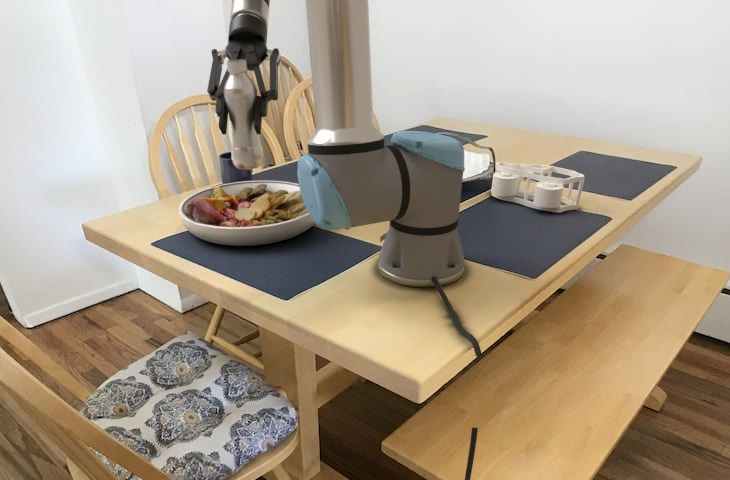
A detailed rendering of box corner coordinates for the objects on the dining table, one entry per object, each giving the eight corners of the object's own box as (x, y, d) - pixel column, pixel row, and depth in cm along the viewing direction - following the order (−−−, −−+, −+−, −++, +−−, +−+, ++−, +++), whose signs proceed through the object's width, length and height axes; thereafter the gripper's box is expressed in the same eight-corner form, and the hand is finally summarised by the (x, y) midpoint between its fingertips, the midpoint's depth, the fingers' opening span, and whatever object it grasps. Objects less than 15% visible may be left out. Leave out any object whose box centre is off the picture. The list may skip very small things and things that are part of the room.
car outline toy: (479, 197, 130) (483, 166, 126) (506, 187, 136) (510, 157, 132) (557, 219, 117) (564, 185, 113) (582, 206, 124) (590, 174, 120)
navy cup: (250, 196, 134) (246, 159, 130) (220, 196, 135) (215, 159, 130) (255, 186, 141) (252, 151, 136) (227, 187, 141) (222, 151, 136)
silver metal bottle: (227, 172, 111) (212, 62, 100) (241, 163, 116) (228, 58, 105) (256, 174, 109) (244, 62, 98) (270, 164, 114) (259, 58, 104)
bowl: (258, 192, 137) (255, 160, 132) (350, 219, 120) (350, 183, 116) (154, 228, 118) (146, 192, 113) (246, 266, 101) (241, 225, 97)
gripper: (298, 39, 113) (292, 141, 108) (208, 41, 114) (197, 141, 109) (293, 11, 105) (285, 118, 101) (196, 12, 107) (184, 119, 102)
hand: (239, 130), depth 105 cm, fingers closed on silver metal bottle, 6 cm apart
